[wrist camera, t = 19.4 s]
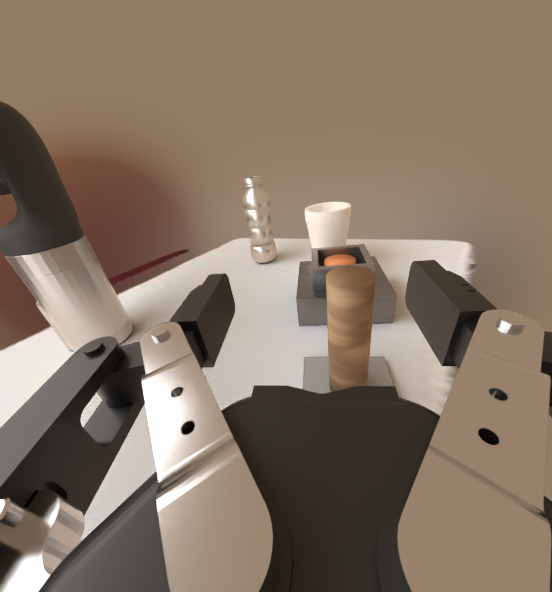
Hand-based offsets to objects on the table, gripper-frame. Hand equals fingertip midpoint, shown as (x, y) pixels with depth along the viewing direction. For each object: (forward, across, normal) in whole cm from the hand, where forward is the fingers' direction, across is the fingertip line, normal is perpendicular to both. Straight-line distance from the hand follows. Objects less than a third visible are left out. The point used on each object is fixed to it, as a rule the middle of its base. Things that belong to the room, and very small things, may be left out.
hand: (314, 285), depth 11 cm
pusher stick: (+9, -3, +19) cm, 21 cm away
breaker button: (+28, -5, +15) cm, 32 cm away
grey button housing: (+28, -5, +20) cm, 35 cm away
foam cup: (+44, -4, +20) cm, 49 cm away
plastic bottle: (+49, +12, +21) cm, 55 cm away
